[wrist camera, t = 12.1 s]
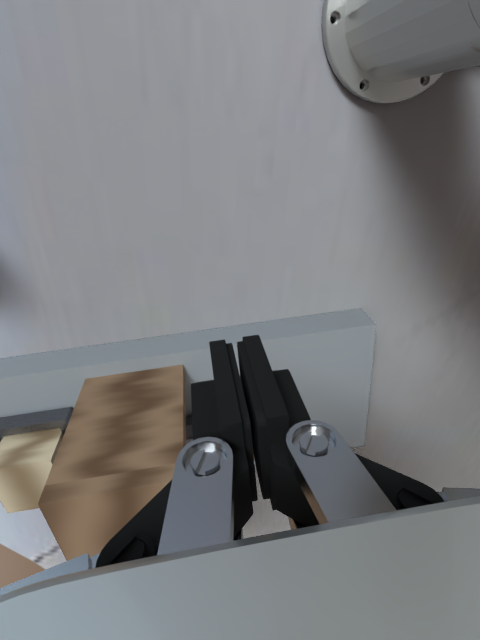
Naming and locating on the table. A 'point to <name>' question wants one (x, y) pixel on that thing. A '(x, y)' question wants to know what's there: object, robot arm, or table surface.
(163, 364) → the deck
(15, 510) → the block
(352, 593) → the robot arm
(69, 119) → the table surface
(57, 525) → the tunnel
